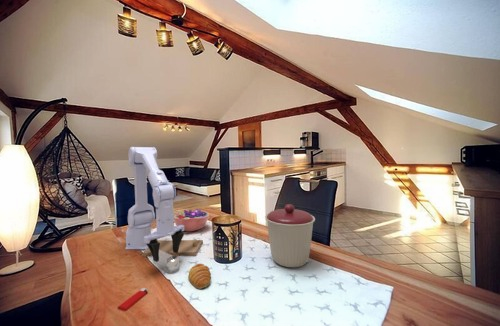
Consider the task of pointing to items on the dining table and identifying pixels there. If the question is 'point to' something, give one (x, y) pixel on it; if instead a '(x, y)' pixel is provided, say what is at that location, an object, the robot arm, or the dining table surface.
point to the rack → (184, 248)
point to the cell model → (191, 219)
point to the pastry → (199, 276)
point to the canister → (290, 235)
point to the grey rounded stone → (168, 262)
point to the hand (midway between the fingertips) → (166, 256)
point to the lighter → (133, 299)
